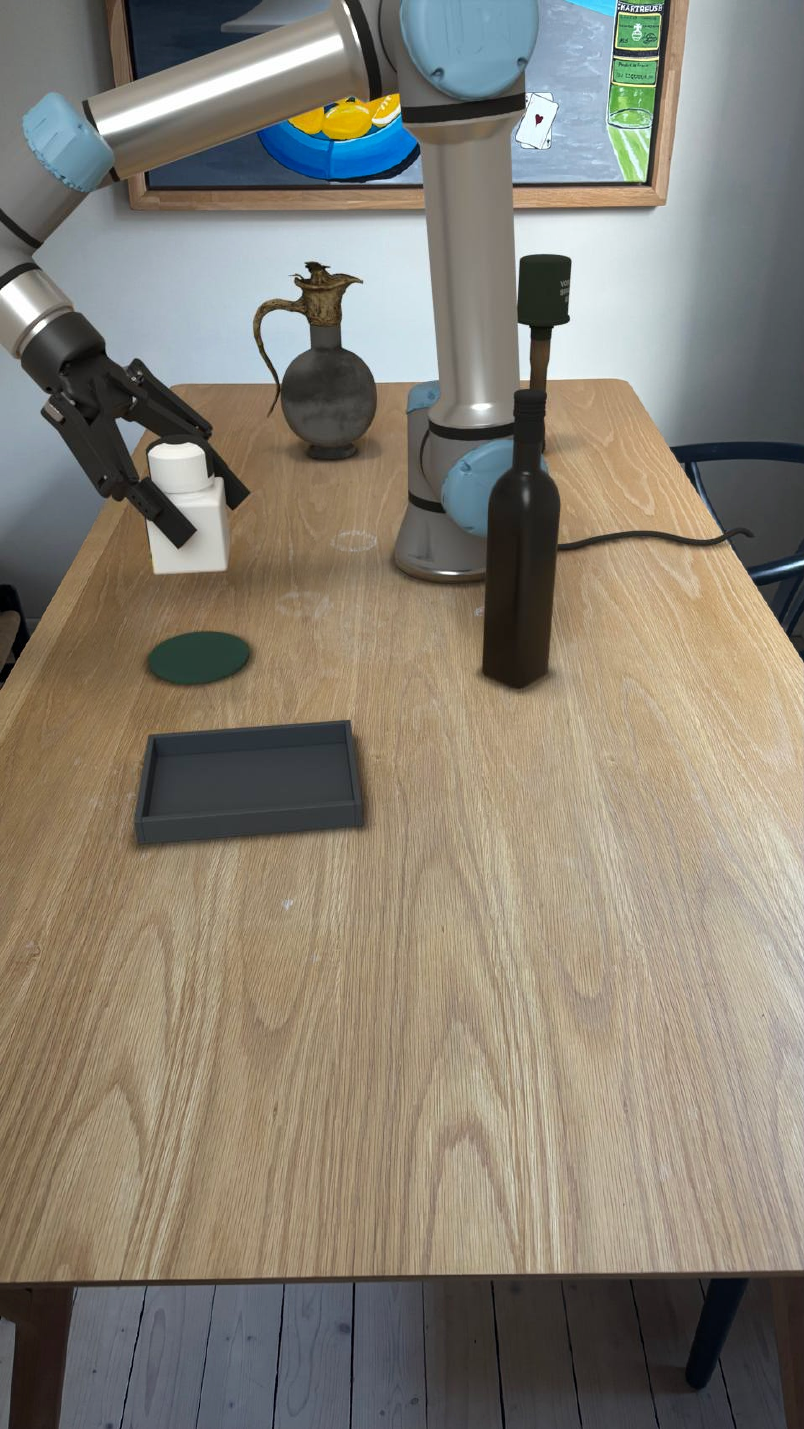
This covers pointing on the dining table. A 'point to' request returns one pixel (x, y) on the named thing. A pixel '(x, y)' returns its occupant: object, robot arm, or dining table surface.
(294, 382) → the pitcher
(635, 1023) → the dining table surface
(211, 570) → the medicine bottle
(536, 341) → the stick grenade
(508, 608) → the wine bottle
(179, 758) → the tray
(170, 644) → the coaster
